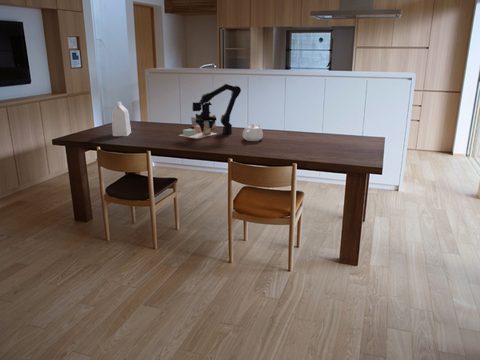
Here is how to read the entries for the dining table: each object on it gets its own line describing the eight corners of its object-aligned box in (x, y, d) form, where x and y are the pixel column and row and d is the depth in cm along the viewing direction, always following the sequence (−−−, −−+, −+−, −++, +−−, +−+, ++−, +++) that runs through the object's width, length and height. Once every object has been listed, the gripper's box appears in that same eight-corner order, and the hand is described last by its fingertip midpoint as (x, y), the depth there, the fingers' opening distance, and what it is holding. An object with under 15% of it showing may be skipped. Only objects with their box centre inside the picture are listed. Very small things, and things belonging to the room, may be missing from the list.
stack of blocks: (191, 127, 361) (191, 113, 357) (196, 126, 366) (195, 112, 362) (211, 130, 350) (211, 115, 346) (215, 129, 355) (215, 114, 351)
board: (217, 134, 333) (217, 133, 333) (197, 139, 315) (197, 138, 315) (199, 131, 345) (199, 130, 345) (178, 136, 327) (178, 135, 327)
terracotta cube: (203, 132, 339) (202, 125, 338) (198, 133, 335) (198, 126, 334) (198, 131, 342) (198, 125, 341) (194, 132, 338) (194, 126, 337)
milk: (127, 136, 328) (124, 103, 320) (112, 136, 328) (109, 103, 320) (131, 132, 339) (128, 100, 331) (117, 132, 340) (114, 100, 331)
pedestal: (195, 134, 330) (195, 129, 328) (189, 136, 324) (189, 130, 323) (189, 133, 334) (189, 128, 333) (183, 134, 329) (182, 129, 327)
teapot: (255, 144, 301) (255, 127, 297) (236, 141, 308) (236, 125, 304) (268, 137, 322) (269, 121, 318) (250, 135, 329) (251, 120, 325)
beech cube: (210, 134, 329) (210, 128, 328) (206, 135, 325) (206, 129, 324) (206, 133, 332) (206, 127, 331) (201, 134, 328) (201, 128, 327)
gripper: (206, 108, 335) (206, 127, 339) (190, 111, 321) (190, 131, 325) (216, 109, 328) (217, 129, 333) (200, 112, 314) (201, 133, 319)
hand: (206, 130), depth 328 cm, fingers open, 9 cm apart
